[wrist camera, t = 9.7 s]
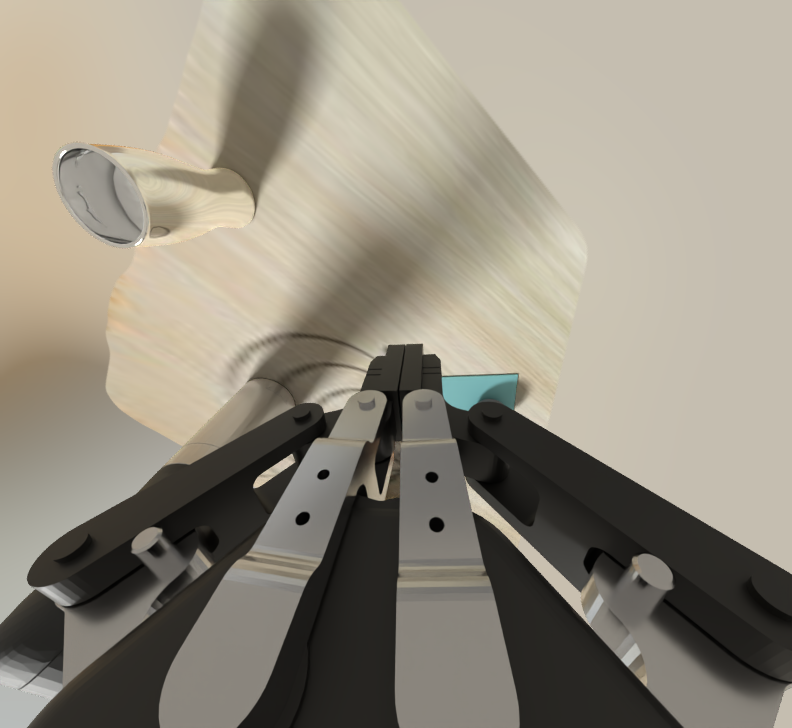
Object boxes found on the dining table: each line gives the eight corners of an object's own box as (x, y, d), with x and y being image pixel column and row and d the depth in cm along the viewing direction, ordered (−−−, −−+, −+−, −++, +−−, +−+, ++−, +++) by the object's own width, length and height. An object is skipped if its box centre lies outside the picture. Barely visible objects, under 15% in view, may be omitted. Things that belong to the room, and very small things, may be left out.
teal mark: (509, 444, 47) (509, 445, 47) (425, 444, 49) (425, 445, 49) (517, 374, 40) (517, 374, 40) (420, 377, 42) (420, 378, 42)
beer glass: (255, 168, 31) (130, 146, 18) (262, 236, 35) (162, 258, 22) (194, 158, 31) (27, 130, 18) (207, 227, 35) (76, 244, 22)
